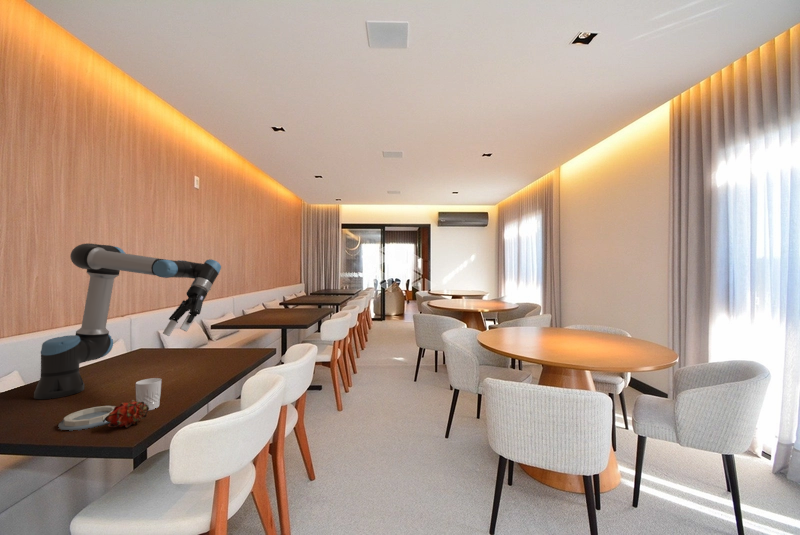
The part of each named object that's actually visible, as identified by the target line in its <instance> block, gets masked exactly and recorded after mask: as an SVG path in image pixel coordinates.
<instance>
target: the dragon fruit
mask: <svg viewBox="0 0 800 535" xmlns="http://www.w3.org/2000/svg"><path fill="white" fill-rule="evenodd" d="M130 401H131V402H130ZM130 401H129V402H121V403H119V404H120V405H118V406H116V407H115V408H114V409H113V411H112V412H111V413H110V414H109V415H108V416H107V417H106V418H105V420H106V421H107V422H111V423H108V424H107V427H110V428H122V427H124V426H125V428H129V427H131V426H132V425H137V424H138V423H139V420H143V419H145V418H146V417H147V415H148V412H149V411H148V409H149V407H148V405H146V404H144V402H137V401H136V399H135V400H134V399H131V400H130ZM105 420H103V423H104V421H105Z"/></svg>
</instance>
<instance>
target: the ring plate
mask: <svg viewBox="0 0 800 535" xmlns="http://www.w3.org/2000/svg"><path fill="white" fill-rule="evenodd" d="M115 407H117V406H116V405H102V406H93V407H90V408H84V409H80V410H78V411H75V412H72V413H70V414H68V415H66V416H64V417H63V420H61V421H60V422H59V423H58V427H59V428H58V430H59V429H61V430H60V431H62V430H69V431H68V432H74V431H73V430H78V431H83V430H82V429H85V430H89V429H88V428H90V429H93V428H94V427H95V428H98V426H99V427H102V426H104V425H108V424H109V423H110V422H107V421H106V420H105V418H106V417H107V416H108V415H109V414H110V413H111V412H112V411H113V409H114V408H115ZM103 420H105V421H104V423H103Z"/></svg>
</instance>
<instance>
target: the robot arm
mask: <svg viewBox="0 0 800 535" xmlns="http://www.w3.org/2000/svg"><path fill="white" fill-rule="evenodd" d="M70 260H71V262H72V263H73V265H75V266H76V267H78V268H79V269H83V270H86V273H87V274H88V276H89V280H88V287H87V294H86V299H85V304H84V310H83V315H82V320H81V327H80V328H79V329H77V330H75V335H74V334H72V335H63V336H57V337H53V338H50V339H47V340H45V341H44V342H42V344H41V350H40V378H39V380H38V383H37V385H36V386H35V390H34V392H33V399H36V400H51V398H52V399H57V398H63V397H67V396H72V395H75V394H78V393H81V392H83V391H84V390H85V383H84V381H83V378H82V376H81V373H80V364H84V363H88V362H90V361H96V360H98V359H101V358H104V357H105V356H107V355H108V354H109V353H110V352H111V351H112V350H113V346H114V340H113V339H112V336H111V335H110V331H109V330H108V329H107V323H108V321H107V320H108V316H109V311H110V305H111V299H112V293H113V287H114V282H115V279H116V278H117V277H118V276H120V271H121V272H122V271H123V272H128V273H135V274H143V275H149V276H155V277H156V276H157V277H159V278H164V279H169V278H175V279H176V278H179V279H180V278H185V279H186V278H187V279H188V278H189V279H193V281H192V282H191V285H190V287H189V288H188V290H187V291H186V294H185V295H186V296H187V298H186V299H183V300H182V301H181V303H180V304H179V306H178V307H177V308H176V309H175V310H174V312H173V313H172V314H171V316H170V317H169V318H168V320H169V322H168V323H167V325H166V327H165V329H164V330H163V332H162V334H164V335H165V336H167V337H170V336H171V334H172V332H173V331H174V329H175V328H176V326H177V325H178V323H179V320H180V319H181V318H182V317H183V316H184V315H185V314H186V313H187V312H188V314H187V316H186V317H185V319H184V321H183V322H182V324H181V326H180V328H179V329H180V330H182V331H184V332H188V330H189V328H190V327H191V325H192V323H193V322H194V319H195V318H196V317H197V316H199V315H200V314H201V312H202V306H203V303H204V300H205V299H206V297H207V295H208V294H209V292H210V291H211V289H212V287H213V285H214V282H215V281H216V279H217V277H218V276H219V274H220V272H221V270H222V265H221V264H220V262H219V261H217V260H214V259H206V260H205V261H204V262H203V263H200V262H199V263H198V262H193V261H187V260H181V259H179V260H178V259H177V260H173V259H165V258H158V257H151V256H143V255H137V254H130V253H126V252H125V251H124V249H122V248H121V247H118V246H115V245H111V244H97V243H87V242H86V243H82V244H79V245H76V246H75V247H74V248H73V249H72V250H71V252H70Z"/></svg>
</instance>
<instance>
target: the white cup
mask: <svg viewBox="0 0 800 535" xmlns="http://www.w3.org/2000/svg"><path fill="white" fill-rule="evenodd" d="M162 380H163V379H162V378H160V377H159V378H158V377H152V378H146V379H141V380H138V381H136V382H135V401H137V402H144V404H146V405H148V407H149V409H148V412H149V411H153V410H155V408H156V409H157V408H159V407H160V403H161V402H160V400H161V392H162Z"/></svg>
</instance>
